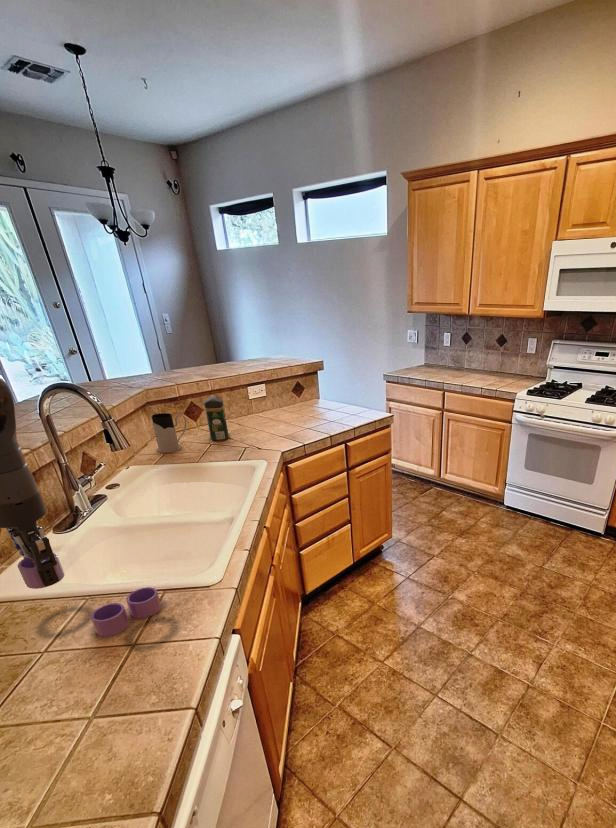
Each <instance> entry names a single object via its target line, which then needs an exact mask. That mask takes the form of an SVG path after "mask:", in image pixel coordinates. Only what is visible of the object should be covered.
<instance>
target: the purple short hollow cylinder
mask: <svg viewBox="0 0 616 828" xmlns="http://www.w3.org/2000/svg"><path fill="white" fill-rule="evenodd" d="M53 554H54V557H55V560H56V561H57V565H55V566H53V567H54V569H55V572H56V574H57V577H58V579H59V581H58V582H57V583H59V582H61V580H63V579H64V577H65V571H64V567H63V566H62V563H61V561H60V558H59V555H58V554H57V553H55V552H53ZM44 560H47V559H46V558H44V559H41V561H44ZM17 568H18V571H19V574H20V576H21V577H22V580H23V581H24V584H25V586H26V587H27V588H29V589H32V590H33V589H34V590H35V589H36V590H38V589H39V590H40V589H44V588H48V587H50V586H52V585H50V586H47V587H46V586H44V585H43V583H42V581H41V579H40V576H39V574H38V572H37V569H35V568H34V564H33V562H32V560H31V559H29V558H25V559H24V558H23V559H21V560H20V561H19V562H18V564H17ZM57 583H55V584H54V585H56V584H57Z"/></svg>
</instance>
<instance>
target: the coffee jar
mask: <svg viewBox="0 0 616 828" xmlns="http://www.w3.org/2000/svg"><path fill="white" fill-rule="evenodd" d="M203 405H204V410H205V414H206V415H205V416H206V420H207V425H208V430H209V436H210V440H211V441H217V442H220V441H221V442H222V441H224V440H228V438H229V436H230V435H229V434H230V433H229V429H228V425H227V419H226V418H227V417H226V412H225V411H226V410H225V406H224V400H223V399H222V398H220V397H218V396H212V397H208V398H206V399H205V401H204V402H203Z"/></svg>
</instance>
